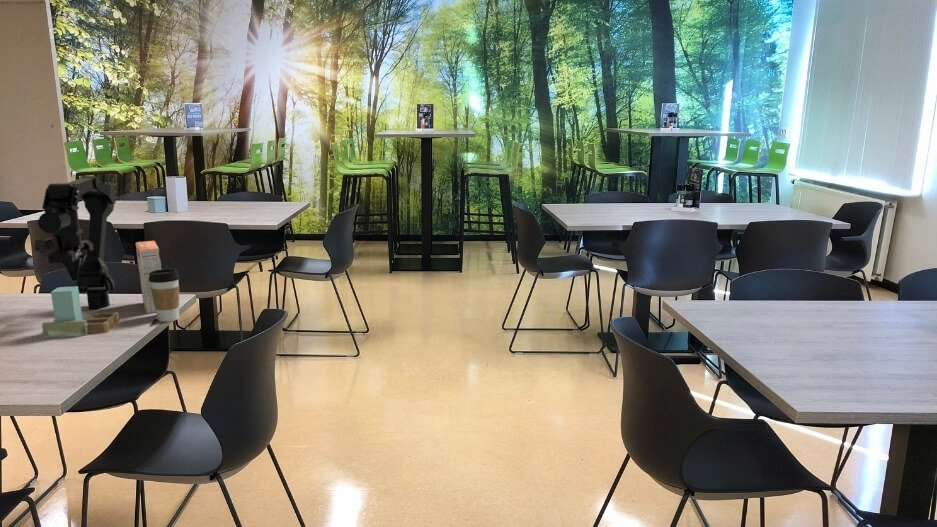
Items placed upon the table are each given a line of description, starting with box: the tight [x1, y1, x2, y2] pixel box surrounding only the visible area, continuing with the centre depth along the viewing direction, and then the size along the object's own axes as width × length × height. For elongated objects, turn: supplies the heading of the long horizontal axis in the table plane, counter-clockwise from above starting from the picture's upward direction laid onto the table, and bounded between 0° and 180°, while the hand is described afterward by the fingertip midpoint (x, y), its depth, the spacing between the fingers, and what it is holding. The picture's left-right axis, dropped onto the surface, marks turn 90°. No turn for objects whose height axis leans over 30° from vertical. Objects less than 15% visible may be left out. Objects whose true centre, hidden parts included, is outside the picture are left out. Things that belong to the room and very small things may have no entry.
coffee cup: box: [149, 268, 180, 323], centre depth 194 cm, size 8×8×15 cm
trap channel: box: [41, 311, 120, 339], centre depth 184 cm, size 14×15×5 cm
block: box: [50, 285, 83, 322], centre depth 180 cm, size 5×5×12 cm
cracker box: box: [135, 240, 162, 314], centre depth 203 cm, size 14×6×21 cm, turn 30°
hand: (74, 280), depth 189 cm, fingers closed
